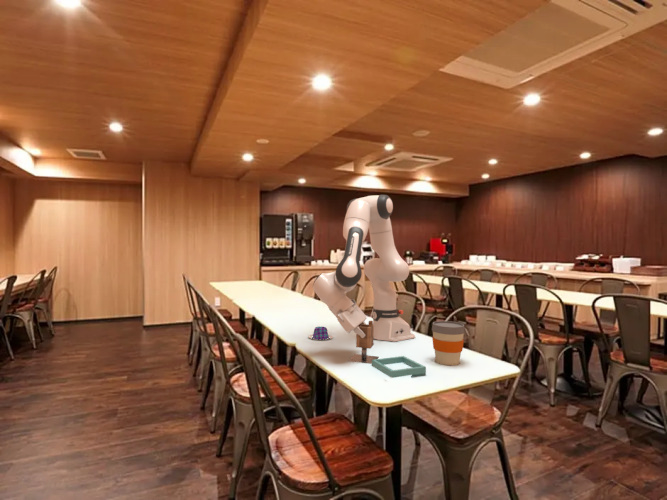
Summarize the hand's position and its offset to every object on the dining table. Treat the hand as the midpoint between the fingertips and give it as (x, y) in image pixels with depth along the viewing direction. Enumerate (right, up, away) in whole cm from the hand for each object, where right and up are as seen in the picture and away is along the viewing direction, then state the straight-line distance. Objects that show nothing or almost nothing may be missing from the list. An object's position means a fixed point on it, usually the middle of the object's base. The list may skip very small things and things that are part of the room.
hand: (366, 334), depth 152 cm
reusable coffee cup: (+32, -11, +2) cm, 34 cm away
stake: (-1, -11, 0) cm, 11 cm away
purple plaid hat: (-19, -10, +37) cm, 43 cm away
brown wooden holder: (-1, -5, 0) cm, 5 cm away
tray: (+11, -11, -11) cm, 19 cm away
